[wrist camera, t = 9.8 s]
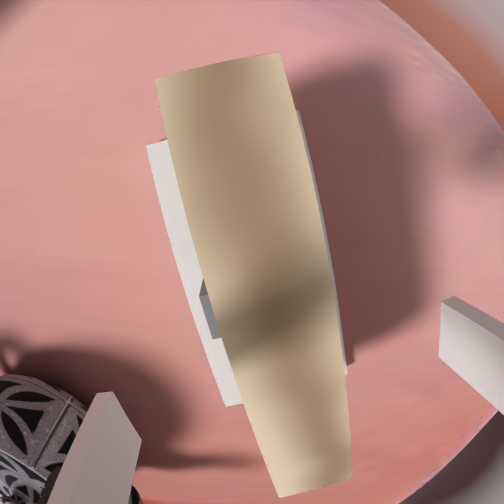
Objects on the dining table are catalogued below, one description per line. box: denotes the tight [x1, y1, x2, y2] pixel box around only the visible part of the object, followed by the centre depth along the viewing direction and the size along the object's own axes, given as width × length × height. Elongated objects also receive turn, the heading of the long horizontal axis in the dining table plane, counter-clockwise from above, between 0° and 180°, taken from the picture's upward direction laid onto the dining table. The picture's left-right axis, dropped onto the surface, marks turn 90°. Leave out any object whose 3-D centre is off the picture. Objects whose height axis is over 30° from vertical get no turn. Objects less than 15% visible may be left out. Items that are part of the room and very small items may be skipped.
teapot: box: [0, 374, 143, 504], centre depth 21 cm, size 19×31×15 cm, turn 56°
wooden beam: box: [155, 53, 352, 498], centre depth 16 cm, size 5×24×6 cm, turn 14°
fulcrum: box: [146, 110, 347, 406], centre depth 23 cm, size 12×24×7 cm, turn 13°
